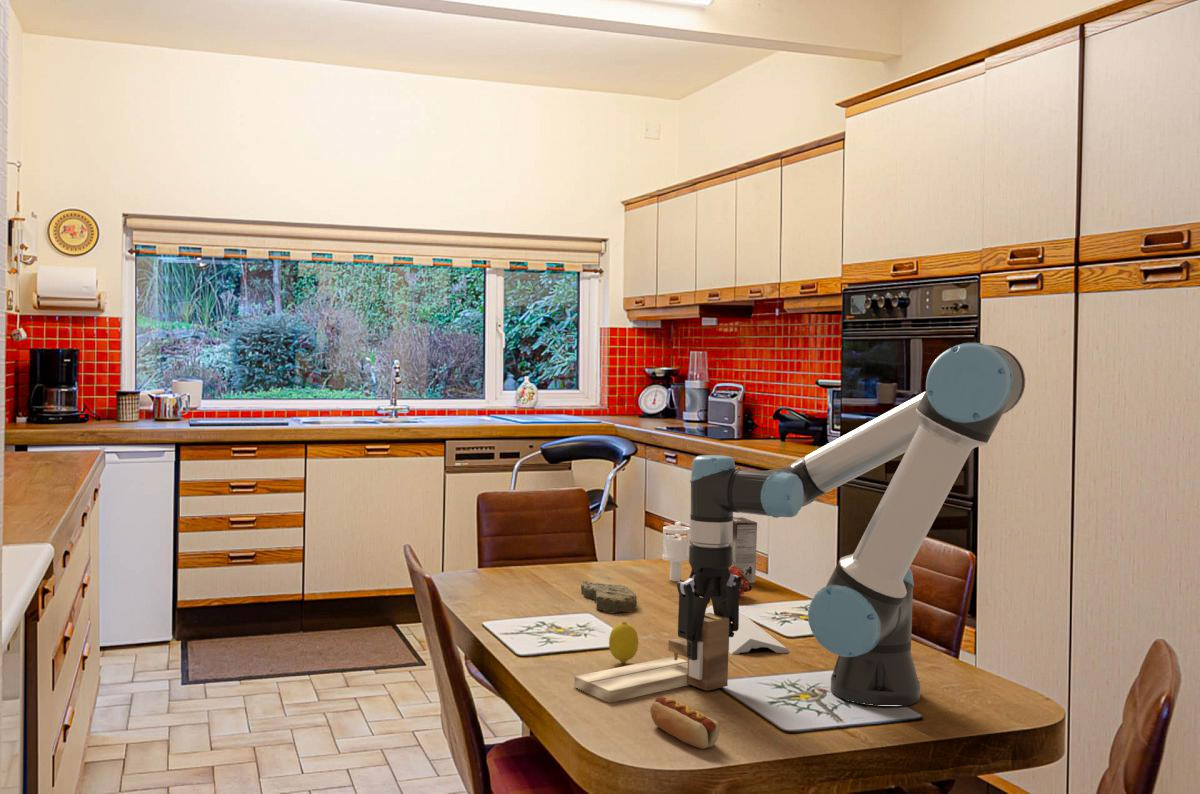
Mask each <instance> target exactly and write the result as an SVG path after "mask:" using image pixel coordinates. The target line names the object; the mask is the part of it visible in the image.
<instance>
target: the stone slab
mask: <svg viewBox="0 0 1200 794" xmlns="http://www.w3.org/2000/svg"><path fill="white" fill-rule="evenodd" d="M580 588H581V593H582V596H584V597H585V598H587V599H589V598H590V600H592V599H593V601H594V602H595V601H596V602H595V604H596V607H595V608H596V610H601V611H604V612H606V613H608V612H610V613H609V614H616V613H620V612H624V613H631V612H634V611H635V610H637V604H638V602H637V598H638V597H637V594H636V593H634V591H633V590H632V589H631V588H629V587H628V586H626V585H622V584H610V583H609V584H608V583H599V582H588V581H587V580H583V582H582V583H581V584H580ZM630 611H631V612H630Z"/></svg>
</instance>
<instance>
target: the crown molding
mask: <svg viewBox="0 0 1200 794" xmlns="http://www.w3.org/2000/svg"><path fill="white" fill-rule="evenodd" d="M705 613H713V614H714V610H713V605H709V606H707V607H706V612H705ZM731 623H732V622H731ZM733 632H734V636H733V637H729V651H728V654H730V655H739V654H740V653H744V654H745V653H749V652H750V651H751V649H759V648H768V649H770V650H771V651H773V652H774V653H776V654H784V653H785V654H786V653H788V654H789V653H790V651H789V650H788V648H787V647H785V646H784V645H783V644H782V643H781V642H779V641H778V640H777V639H776V638H774V637H773V636H772V635H770V634H769V633H768V632H767V631H765V630H764V629H763V628H762V627H760V626H759V625H758V624H757V623H755V622H754V621H753V620H752V619H750V618H749V617H748V616H746V615H745V614H744V613H741V612H739V628H738V630H737V631H733Z"/></svg>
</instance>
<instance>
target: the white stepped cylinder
mask: <svg viewBox="0 0 1200 794" xmlns="http://www.w3.org/2000/svg"><path fill="white" fill-rule="evenodd" d="M675 537H676V538H675ZM673 538H674V539H673ZM690 542H691V540H690V526H682V522H681V521H676V522H674V525H666V526H663V528H662V560H663V561H664V562H665V561H667V562H669V581H670V580H673V581H672V582H679V581H680V580H681V581H682V563H683V562H689V546H690V545H691V543H690Z"/></svg>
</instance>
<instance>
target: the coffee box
mask: <svg viewBox="0 0 1200 794" xmlns="http://www.w3.org/2000/svg"><path fill="white" fill-rule="evenodd" d="M757 535H758V521H757V522H756V521H753V520H751V519H749V518H745V517H737V516H736V517H734V516H733V542H731V543H730V544H729V545H731V547H732V565H733V566H735V567H737V568H738V569H741V570H743V572H744V573H743V574H744V575H745V576H746V578H747V581H749V583H748V582H747V581H746V583H747V584H753V583H756V568H757V567H756V566H757V565H756V564H757V544H758V543H757V539H758V537H757Z"/></svg>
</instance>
